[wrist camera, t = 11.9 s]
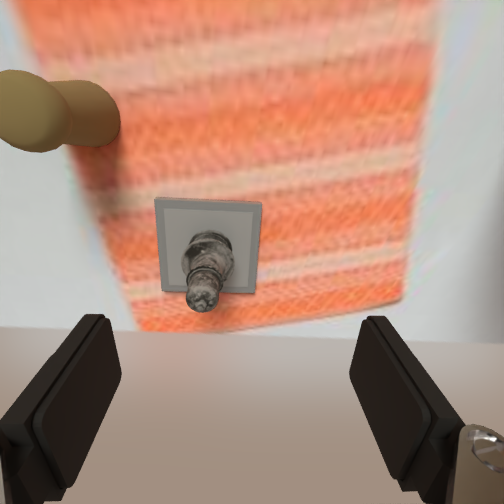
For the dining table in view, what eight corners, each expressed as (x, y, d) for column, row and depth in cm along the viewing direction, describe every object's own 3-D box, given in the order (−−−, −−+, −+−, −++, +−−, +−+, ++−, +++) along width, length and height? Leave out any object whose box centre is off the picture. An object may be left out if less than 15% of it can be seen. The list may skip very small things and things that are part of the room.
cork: (82, 156, 30) (8, 175, 20) (42, 96, 27) (-65, 84, 17) (132, 132, 29) (80, 138, 19) (95, 68, 27) (15, 38, 17)
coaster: (261, 201, 33) (262, 204, 32) (254, 288, 38) (254, 293, 37) (156, 196, 32) (153, 199, 31) (163, 286, 37) (161, 291, 36)
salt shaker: (228, 275, 36) (226, 343, 25) (181, 265, 35) (158, 332, 24) (240, 233, 33) (243, 288, 23) (190, 221, 32) (169, 273, 22)
